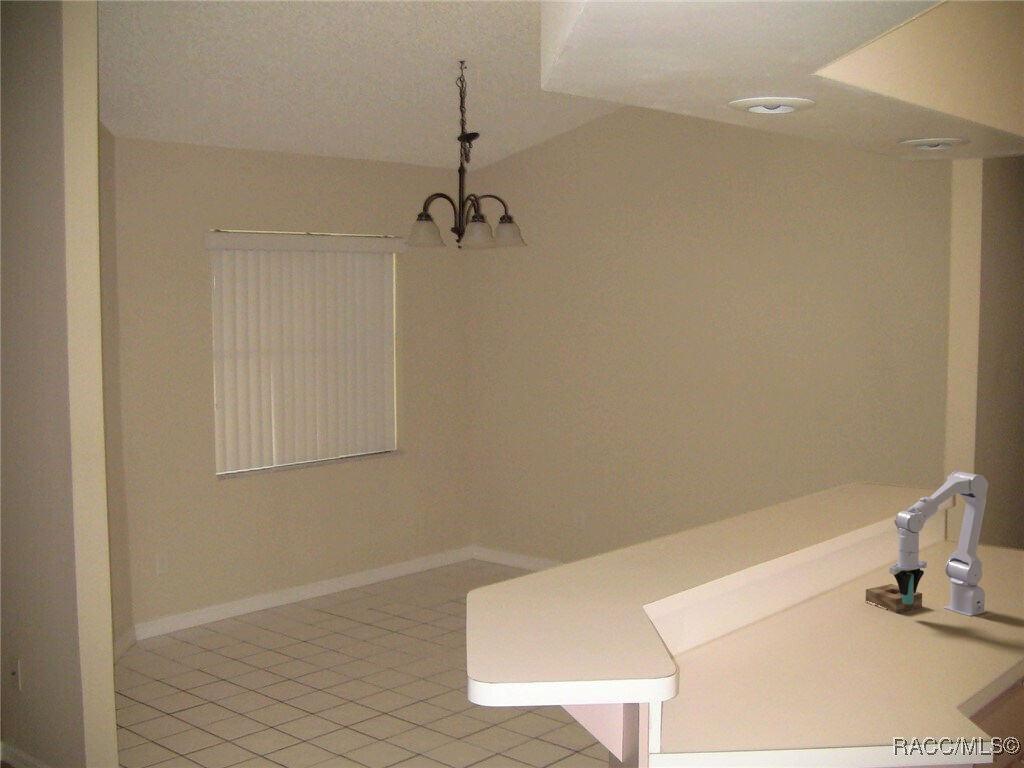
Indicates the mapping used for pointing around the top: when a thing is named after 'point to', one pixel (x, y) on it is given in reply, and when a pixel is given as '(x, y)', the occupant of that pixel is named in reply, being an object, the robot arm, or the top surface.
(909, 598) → the peg
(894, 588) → the socket block
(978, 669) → the top surface
